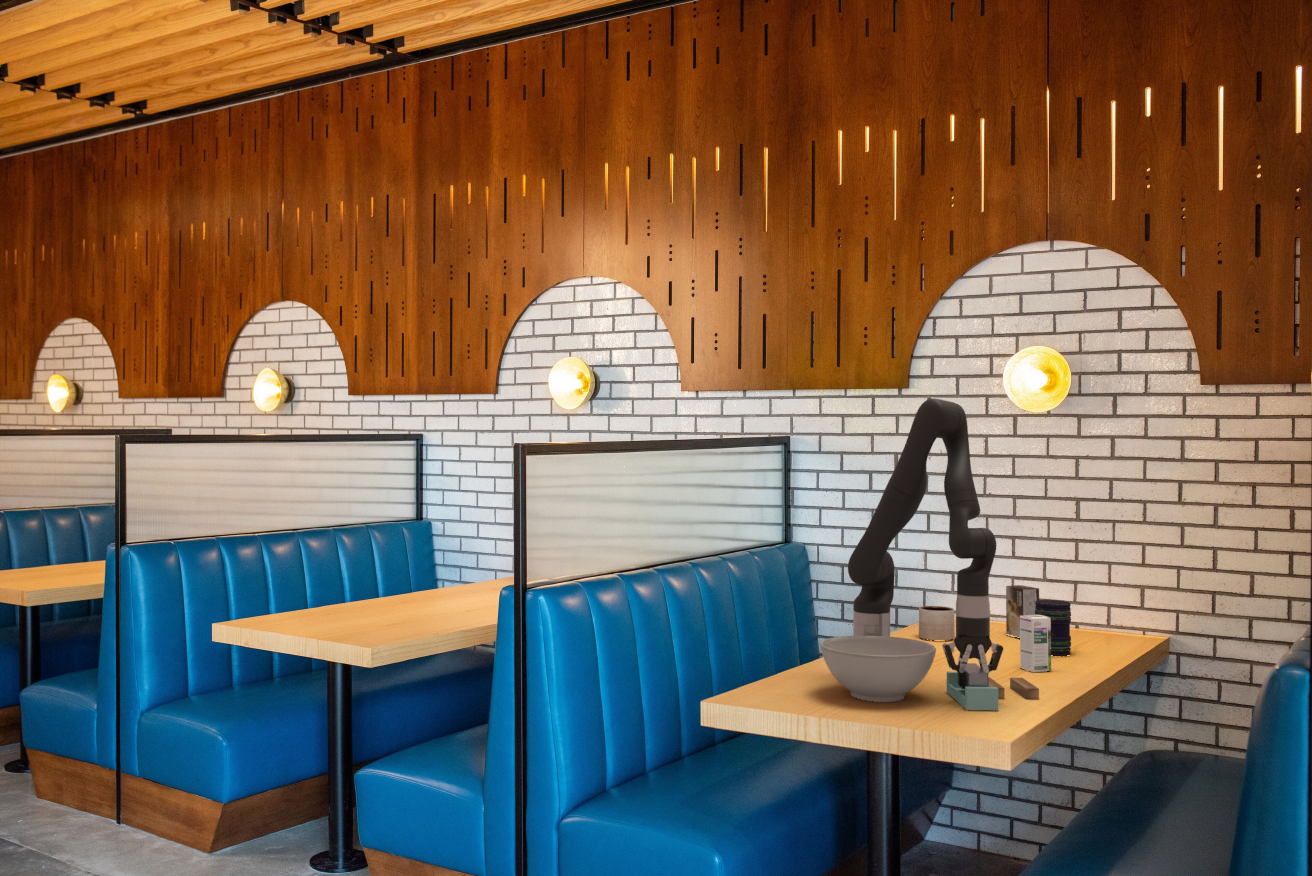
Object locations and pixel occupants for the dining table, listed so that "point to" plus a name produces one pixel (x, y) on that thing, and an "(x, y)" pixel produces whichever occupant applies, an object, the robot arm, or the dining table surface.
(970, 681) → the grey rectangular block
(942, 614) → the planter
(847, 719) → the dining table surface
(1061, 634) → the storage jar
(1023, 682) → the slotted beam
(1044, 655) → the syrup box
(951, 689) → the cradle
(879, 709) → the dining table surface
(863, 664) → the decorative bowl
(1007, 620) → the coffee box
